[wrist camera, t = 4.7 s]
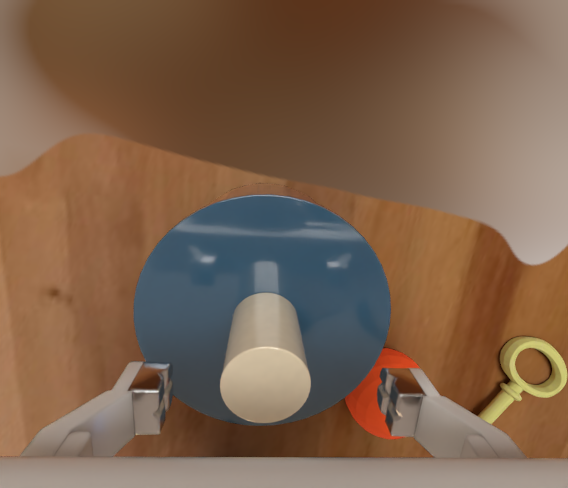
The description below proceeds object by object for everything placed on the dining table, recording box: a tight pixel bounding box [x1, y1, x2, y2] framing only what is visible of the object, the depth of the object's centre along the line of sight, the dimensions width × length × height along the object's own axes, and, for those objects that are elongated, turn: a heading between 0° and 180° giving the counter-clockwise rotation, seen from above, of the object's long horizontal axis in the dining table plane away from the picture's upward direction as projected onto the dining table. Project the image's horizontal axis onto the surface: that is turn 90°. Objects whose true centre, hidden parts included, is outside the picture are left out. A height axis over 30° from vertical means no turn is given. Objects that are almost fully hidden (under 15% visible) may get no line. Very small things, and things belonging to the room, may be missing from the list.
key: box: [478, 336, 567, 424], centre depth 32 cm, size 7×12×2 cm, turn 159°
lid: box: [134, 193, 391, 426], centre depth 16 cm, size 14×14×6 cm
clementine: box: [345, 348, 419, 439], centre depth 28 cm, size 8×7×7 cm
